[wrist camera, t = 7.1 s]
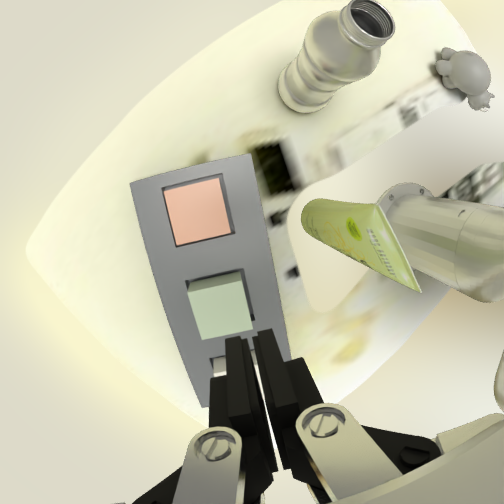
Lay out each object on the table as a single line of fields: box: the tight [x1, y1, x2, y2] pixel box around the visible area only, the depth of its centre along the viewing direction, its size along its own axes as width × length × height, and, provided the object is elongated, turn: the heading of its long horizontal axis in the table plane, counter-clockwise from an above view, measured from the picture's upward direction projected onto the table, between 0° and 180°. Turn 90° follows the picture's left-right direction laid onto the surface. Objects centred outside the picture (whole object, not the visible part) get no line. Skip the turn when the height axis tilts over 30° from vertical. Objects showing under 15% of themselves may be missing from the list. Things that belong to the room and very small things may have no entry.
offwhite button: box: [213, 350, 265, 400], centre depth 37 cm, size 6×6×4 cm
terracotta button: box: [164, 178, 231, 245], centre depth 33 cm, size 6×6×4 cm
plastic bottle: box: [278, 0, 395, 113], centre depth 23 cm, size 6×7×20 cm
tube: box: [301, 199, 422, 293], centre depth 27 cm, size 6×5×20 cm
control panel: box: [130, 153, 291, 408], centre depth 37 cm, size 14×32×2 cm, turn 12°
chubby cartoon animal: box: [436, 48, 494, 112], centre depth 31 cm, size 7×12×8 cm, turn 53°
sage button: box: [187, 271, 253, 340], centre depth 34 cm, size 6×6×4 cm
